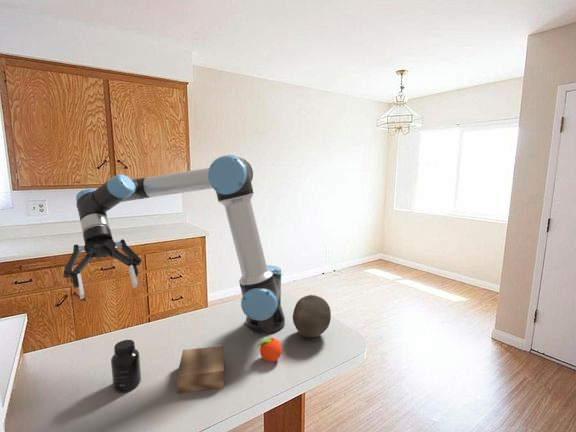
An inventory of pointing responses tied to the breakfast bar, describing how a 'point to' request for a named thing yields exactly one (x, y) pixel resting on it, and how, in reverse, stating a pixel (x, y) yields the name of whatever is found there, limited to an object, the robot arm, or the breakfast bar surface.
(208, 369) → the walnut block
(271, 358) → the clementine
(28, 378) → the breakfast bar surface
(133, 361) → the supplement bottle
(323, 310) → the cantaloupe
